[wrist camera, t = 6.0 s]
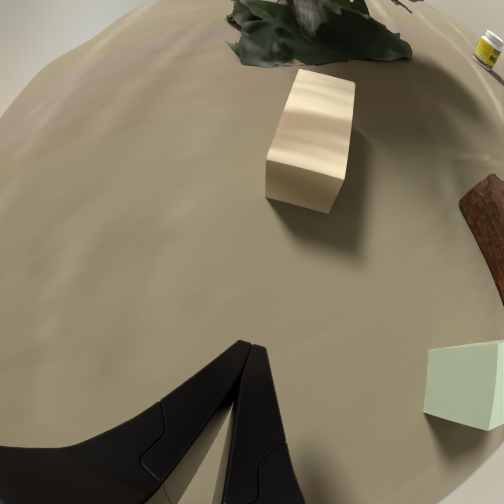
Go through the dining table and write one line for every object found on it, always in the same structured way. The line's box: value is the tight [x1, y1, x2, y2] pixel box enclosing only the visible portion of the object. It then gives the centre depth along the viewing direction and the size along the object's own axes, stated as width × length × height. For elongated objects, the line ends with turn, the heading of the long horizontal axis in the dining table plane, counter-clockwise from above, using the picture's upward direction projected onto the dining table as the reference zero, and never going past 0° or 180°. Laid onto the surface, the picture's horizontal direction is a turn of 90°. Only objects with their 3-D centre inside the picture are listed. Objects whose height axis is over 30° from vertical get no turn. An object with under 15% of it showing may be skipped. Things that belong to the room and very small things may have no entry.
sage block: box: [423, 339, 504, 431], centre depth 11 cm, size 4×4×7 cm
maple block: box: [265, 69, 355, 214], centre depth 18 cm, size 4×4×10 cm
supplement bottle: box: [473, 30, 504, 71], centre depth 25 cm, size 5×5×8 cm
